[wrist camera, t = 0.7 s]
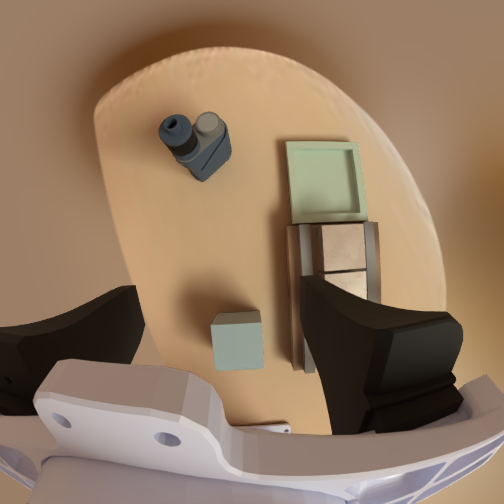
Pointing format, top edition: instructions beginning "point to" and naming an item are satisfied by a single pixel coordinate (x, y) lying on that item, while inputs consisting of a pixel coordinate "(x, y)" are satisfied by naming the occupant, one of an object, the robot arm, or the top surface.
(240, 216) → the top surface
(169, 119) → the vaping device
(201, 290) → the top surface
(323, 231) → the chip
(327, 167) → the chip tray
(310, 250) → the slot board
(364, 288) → the chip
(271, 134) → the top surface
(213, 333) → the sage green cube
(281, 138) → the top surface
